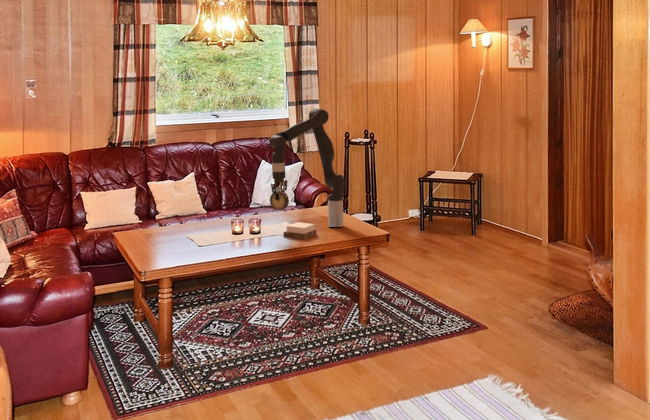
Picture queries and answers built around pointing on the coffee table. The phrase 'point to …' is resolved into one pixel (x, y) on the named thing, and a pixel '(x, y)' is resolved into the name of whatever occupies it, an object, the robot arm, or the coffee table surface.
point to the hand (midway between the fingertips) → (279, 198)
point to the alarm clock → (279, 201)
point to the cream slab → (300, 227)
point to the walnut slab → (299, 234)
